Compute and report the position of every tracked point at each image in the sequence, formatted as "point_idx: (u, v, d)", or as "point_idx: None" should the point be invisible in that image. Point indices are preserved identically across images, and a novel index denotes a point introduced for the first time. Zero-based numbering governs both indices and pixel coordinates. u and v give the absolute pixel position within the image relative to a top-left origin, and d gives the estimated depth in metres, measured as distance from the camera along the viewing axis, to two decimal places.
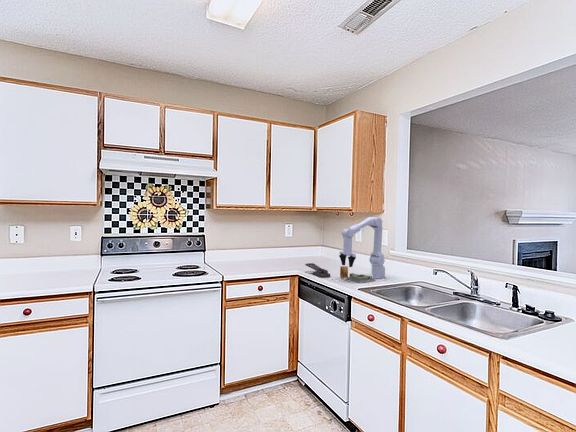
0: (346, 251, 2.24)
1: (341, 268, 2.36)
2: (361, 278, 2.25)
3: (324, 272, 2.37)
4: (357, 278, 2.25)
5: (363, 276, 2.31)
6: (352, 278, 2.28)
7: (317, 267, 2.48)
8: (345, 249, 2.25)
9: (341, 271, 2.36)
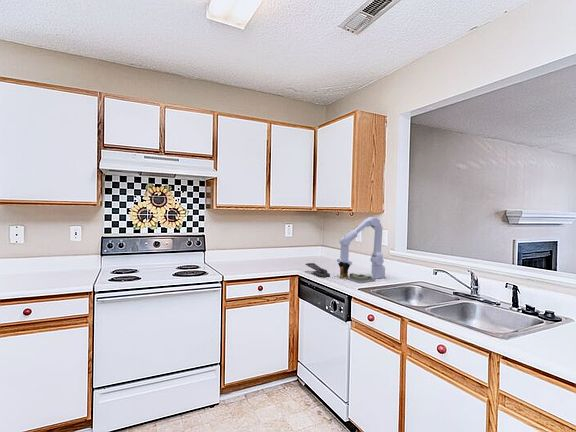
0: (343, 259, 2.35)
1: (341, 268, 2.36)
2: (361, 278, 2.25)
3: (323, 272, 2.37)
4: (357, 278, 2.25)
5: (363, 276, 2.31)
6: (352, 278, 2.28)
7: (317, 267, 2.49)
8: (342, 257, 2.35)
9: (341, 271, 2.36)
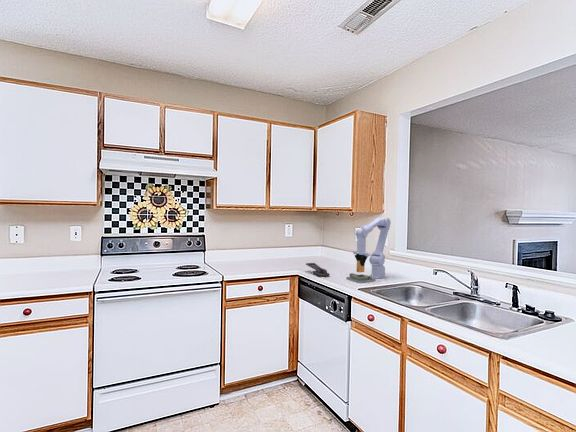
0: (360, 251, 2.27)
1: (357, 262, 2.28)
2: (361, 278, 2.25)
3: (323, 272, 2.38)
4: (357, 278, 2.25)
5: (363, 276, 2.31)
6: (352, 278, 2.28)
7: (317, 267, 2.50)
8: (359, 249, 2.27)
9: (357, 265, 2.28)
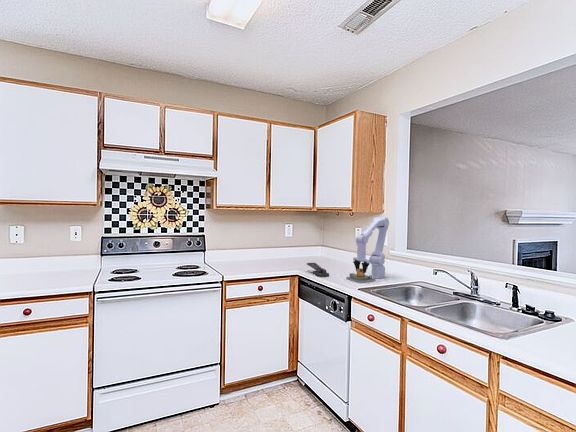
0: (360, 257, 2.27)
1: (358, 270, 2.28)
2: (361, 278, 2.25)
3: (322, 271, 2.39)
4: (357, 278, 2.25)
5: None
6: (352, 278, 2.28)
7: (317, 266, 2.51)
8: (359, 255, 2.27)
9: (358, 273, 2.28)
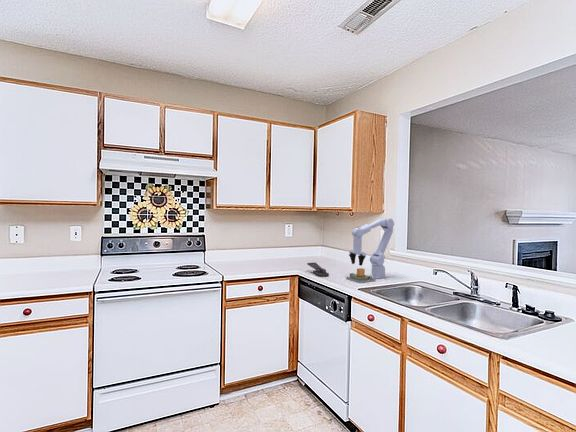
0: (356, 250, 2.32)
1: (358, 270, 2.28)
2: (361, 278, 2.25)
3: (322, 271, 2.39)
4: (357, 278, 2.25)
5: None
6: (352, 278, 2.28)
7: (317, 266, 2.51)
8: (355, 248, 2.33)
9: (358, 273, 2.28)
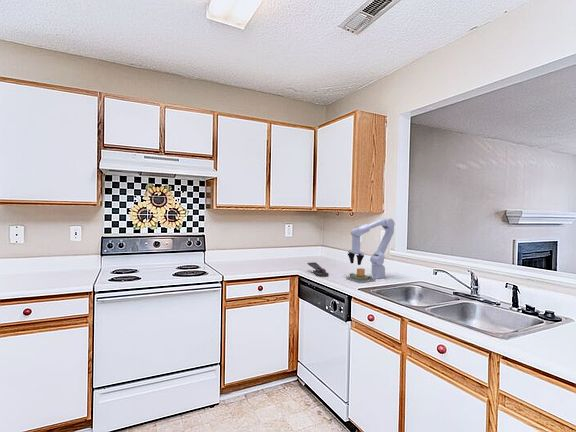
0: (355, 250, 2.34)
1: (358, 270, 2.28)
2: (361, 278, 2.25)
3: (322, 271, 2.40)
4: (357, 278, 2.25)
5: None
6: (352, 278, 2.28)
7: (317, 266, 2.52)
8: (354, 248, 2.35)
9: (358, 273, 2.28)
